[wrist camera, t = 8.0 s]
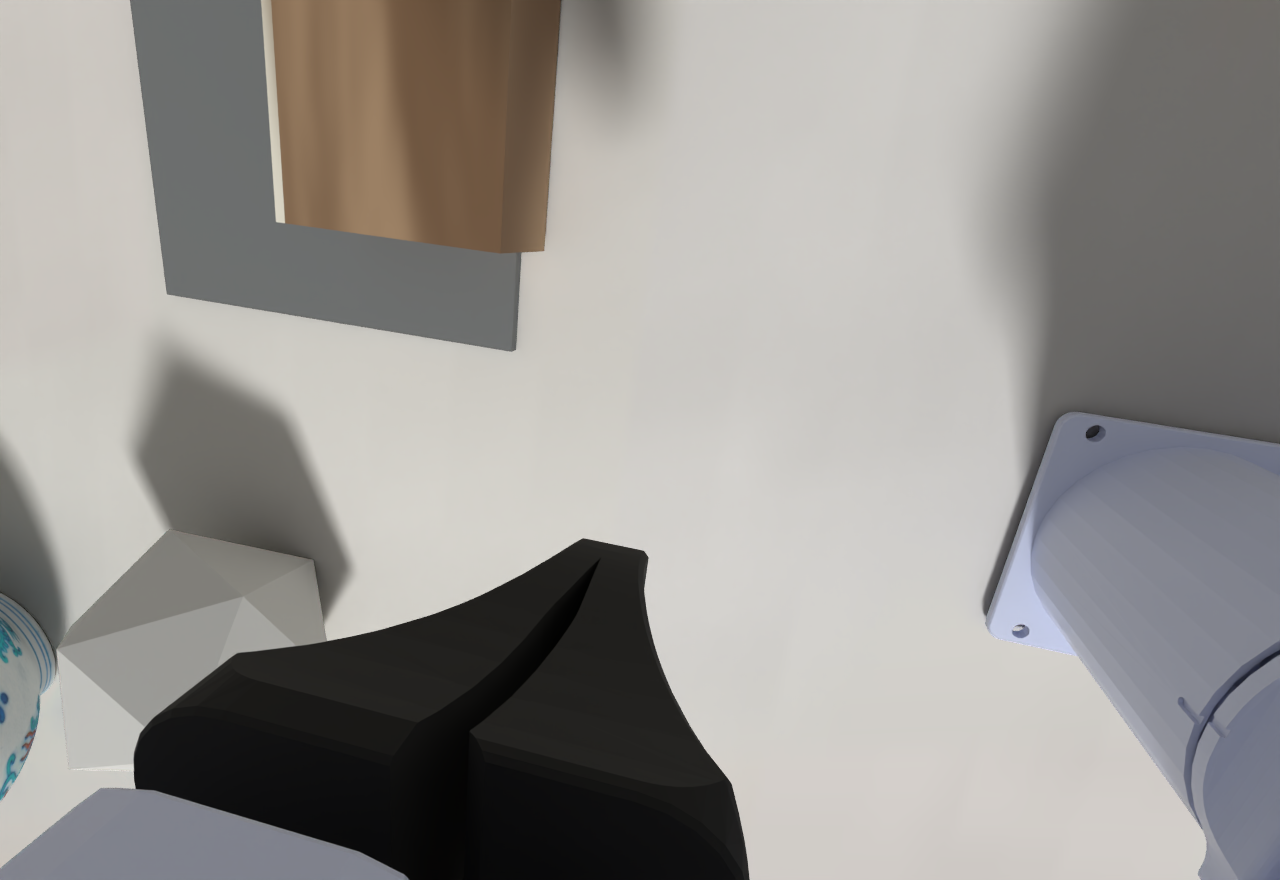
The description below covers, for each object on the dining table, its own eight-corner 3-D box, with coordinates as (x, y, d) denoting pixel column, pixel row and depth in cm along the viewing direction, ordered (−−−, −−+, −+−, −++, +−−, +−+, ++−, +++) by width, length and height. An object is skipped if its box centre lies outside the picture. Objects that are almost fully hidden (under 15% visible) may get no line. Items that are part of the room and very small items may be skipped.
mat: (548, -234, 17) (543, -244, 17) (515, 349, 22) (511, 351, 22) (112, -239, 19) (98, -249, 19) (176, 293, 24) (167, 294, 24)
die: (211, 467, 28) (-53, 651, 22) (292, 514, 22) (-38, 776, 17) (327, 590, 32) (132, 765, 27) (419, 655, 27) (194, 893, 21)
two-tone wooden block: (518, -154, 14) (250, -163, 15) (500, 253, 17) (275, 221, 18) (566, -82, 18) (341, -94, 19) (544, 251, 21) (351, 224, 22)
